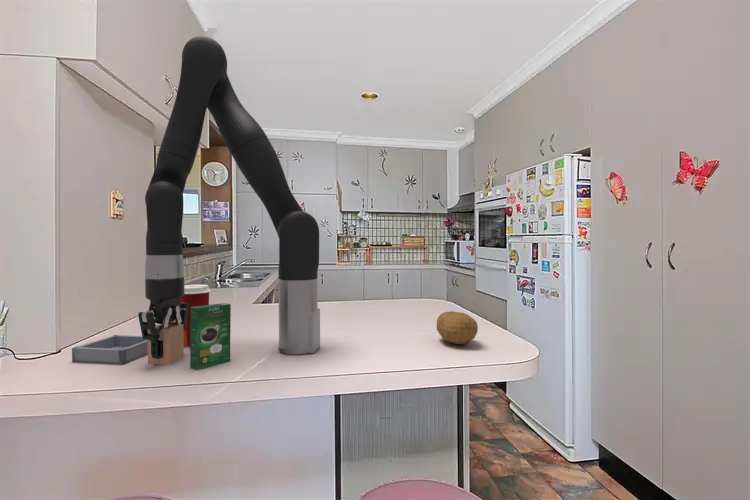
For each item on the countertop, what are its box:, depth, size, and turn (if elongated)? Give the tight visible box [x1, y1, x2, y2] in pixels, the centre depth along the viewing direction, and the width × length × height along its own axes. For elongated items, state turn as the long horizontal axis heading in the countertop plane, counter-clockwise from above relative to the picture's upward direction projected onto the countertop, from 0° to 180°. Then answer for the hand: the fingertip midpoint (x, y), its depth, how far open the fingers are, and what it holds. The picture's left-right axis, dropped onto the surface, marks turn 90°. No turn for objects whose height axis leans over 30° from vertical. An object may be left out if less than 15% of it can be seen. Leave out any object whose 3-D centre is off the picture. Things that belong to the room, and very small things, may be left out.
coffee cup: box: [180, 284, 212, 348], centre depth 103 cm, size 8×8×15 cm
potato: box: [436, 310, 479, 345], centre depth 106 cm, size 10×14×8 cm
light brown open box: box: [147, 324, 185, 366], centre depth 89 cm, size 5×5×8 cm
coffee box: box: [189, 302, 232, 371], centre depth 86 cm, size 8×3×13 cm, turn 144°
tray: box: [71, 334, 148, 366], centre depth 93 cm, size 12×12×4 cm
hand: (166, 353), depth 89 cm, fingers closed on light brown open box, 5 cm apart
